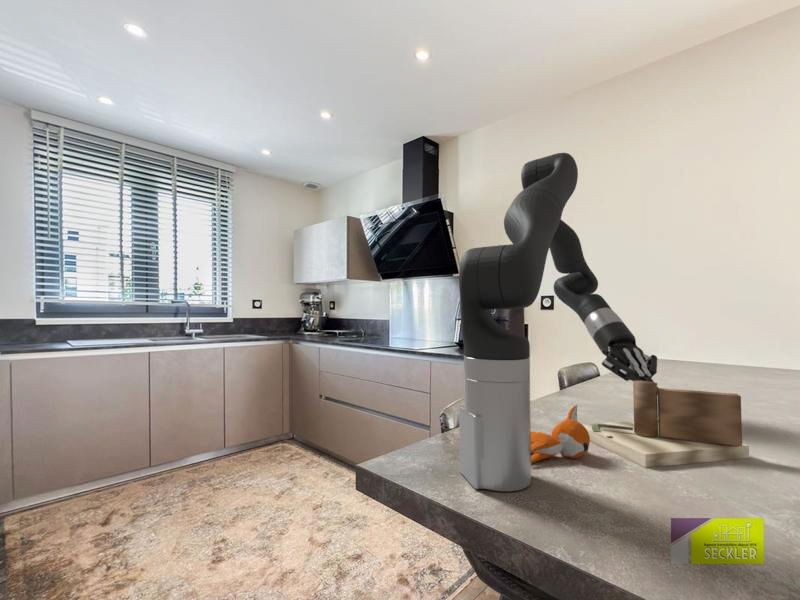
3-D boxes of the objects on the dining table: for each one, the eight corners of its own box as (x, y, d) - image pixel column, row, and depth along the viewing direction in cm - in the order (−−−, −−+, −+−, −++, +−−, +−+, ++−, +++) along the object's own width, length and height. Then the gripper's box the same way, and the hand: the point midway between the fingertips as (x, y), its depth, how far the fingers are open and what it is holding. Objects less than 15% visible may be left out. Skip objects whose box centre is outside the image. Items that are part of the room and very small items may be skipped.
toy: (550, 444, 55) (604, 409, 63) (446, 411, 73) (499, 388, 81) (558, 498, 55) (610, 456, 64) (453, 452, 74) (504, 424, 82)
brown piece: (598, 430, 70) (597, 380, 70) (597, 425, 73) (596, 377, 73) (744, 447, 61) (742, 390, 61) (736, 441, 64) (734, 386, 64)
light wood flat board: (645, 467, 59) (645, 452, 59) (576, 435, 74) (576, 423, 74) (749, 458, 63) (748, 444, 63) (663, 429, 78) (663, 418, 78)
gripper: (591, 320, 85) (636, 385, 73) (641, 320, 88) (693, 383, 76) (576, 342, 90) (616, 407, 78) (624, 342, 93) (670, 404, 81)
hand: (654, 395), depth 77 cm, fingers closed
